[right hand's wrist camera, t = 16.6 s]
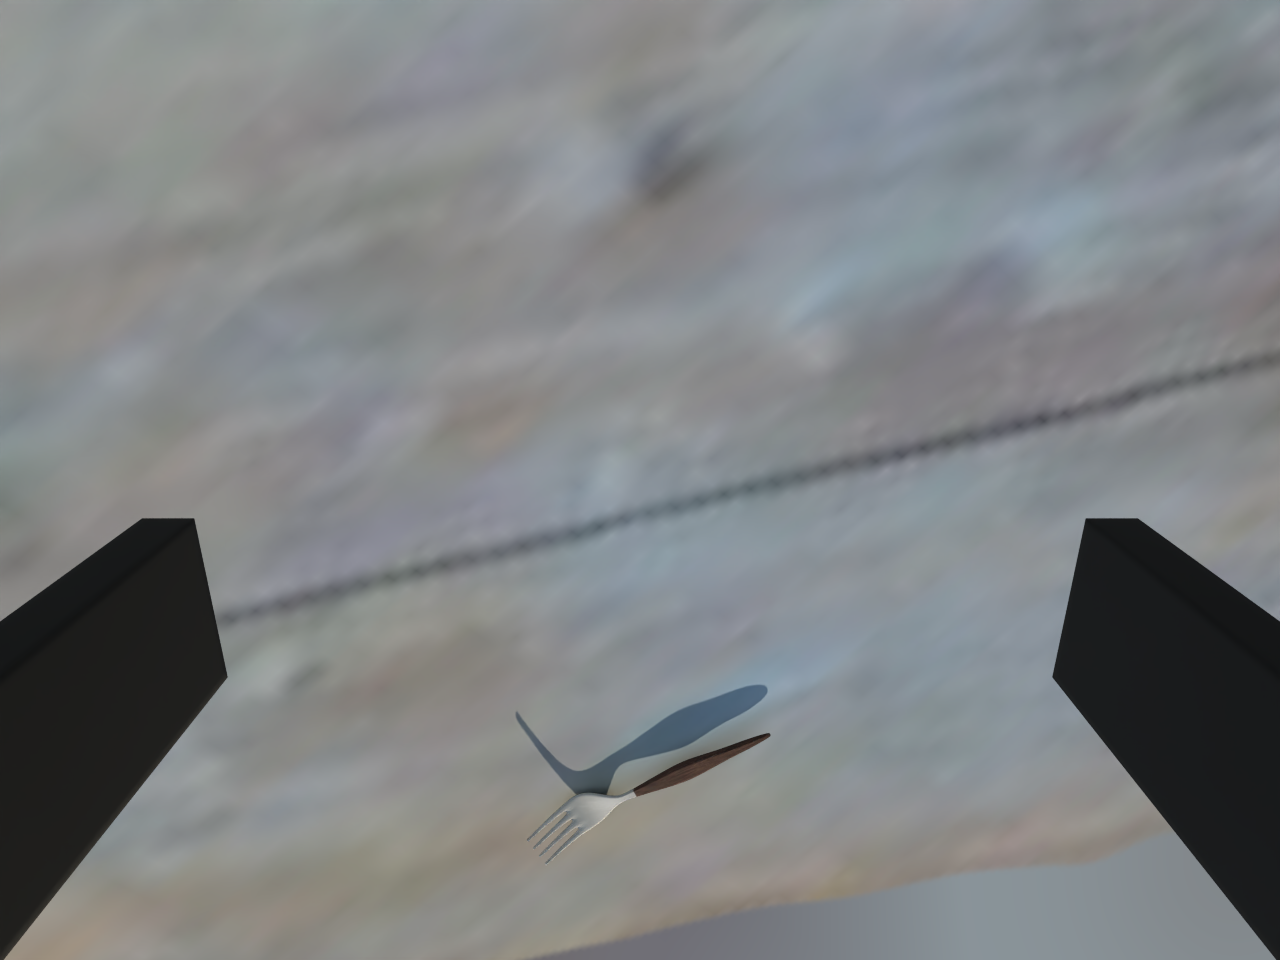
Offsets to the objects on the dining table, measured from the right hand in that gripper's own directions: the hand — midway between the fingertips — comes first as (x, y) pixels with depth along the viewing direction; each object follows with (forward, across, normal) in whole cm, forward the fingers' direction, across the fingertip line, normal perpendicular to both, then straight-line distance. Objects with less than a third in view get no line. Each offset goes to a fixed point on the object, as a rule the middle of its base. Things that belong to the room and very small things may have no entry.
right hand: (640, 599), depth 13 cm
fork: (+30, -1, +29) cm, 42 cm away
